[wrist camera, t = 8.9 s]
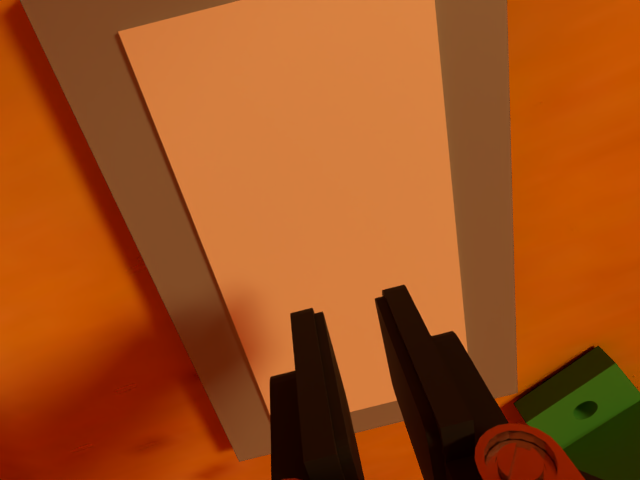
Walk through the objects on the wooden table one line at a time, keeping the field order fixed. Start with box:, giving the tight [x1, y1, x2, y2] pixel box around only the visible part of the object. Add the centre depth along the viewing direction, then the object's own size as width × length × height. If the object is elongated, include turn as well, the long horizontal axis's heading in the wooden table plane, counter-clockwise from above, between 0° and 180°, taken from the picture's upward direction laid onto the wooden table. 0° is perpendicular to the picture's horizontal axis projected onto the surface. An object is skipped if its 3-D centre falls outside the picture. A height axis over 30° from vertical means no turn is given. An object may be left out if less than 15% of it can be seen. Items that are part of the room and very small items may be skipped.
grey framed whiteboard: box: [20, 0, 518, 462], centre depth 16 cm, size 18×12×1 cm, turn 13°
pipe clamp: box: [514, 346, 640, 480], centre depth 21 cm, size 11×4×5 cm
